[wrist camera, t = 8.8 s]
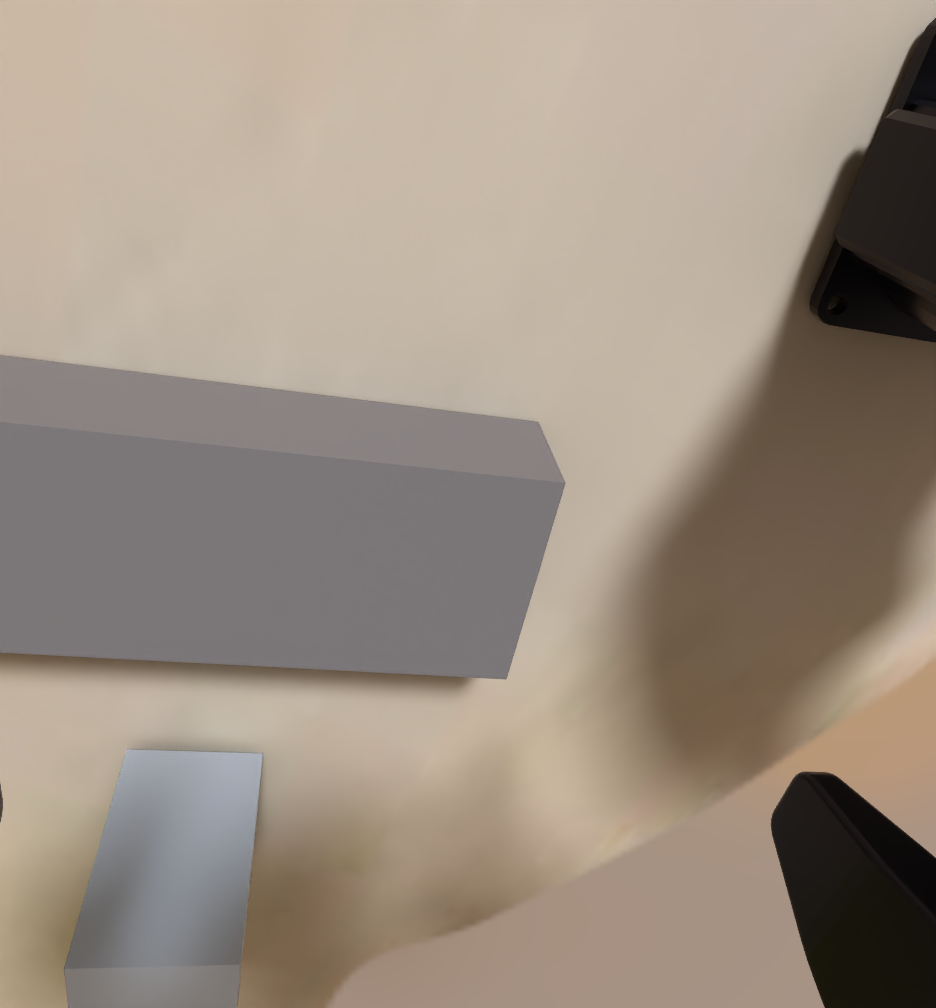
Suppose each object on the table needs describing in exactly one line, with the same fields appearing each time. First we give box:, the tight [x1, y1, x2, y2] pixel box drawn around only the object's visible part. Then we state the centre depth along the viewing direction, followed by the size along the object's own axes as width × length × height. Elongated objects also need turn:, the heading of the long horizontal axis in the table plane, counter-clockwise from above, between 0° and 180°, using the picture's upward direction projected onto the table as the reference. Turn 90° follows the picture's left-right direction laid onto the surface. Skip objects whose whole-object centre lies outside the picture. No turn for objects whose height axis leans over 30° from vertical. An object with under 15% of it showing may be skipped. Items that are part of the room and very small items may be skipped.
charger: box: [64, 749, 263, 1008], centre depth 23 cm, size 4×5×6 cm
